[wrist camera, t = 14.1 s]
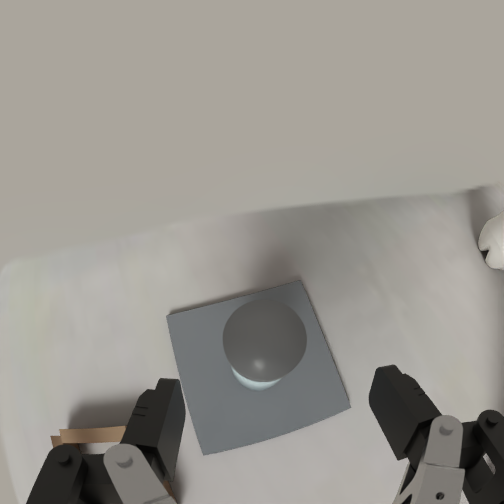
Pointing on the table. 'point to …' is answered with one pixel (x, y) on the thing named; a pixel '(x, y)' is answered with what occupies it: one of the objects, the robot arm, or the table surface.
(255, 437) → the slate pad
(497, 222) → the water bottle
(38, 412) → the table surface
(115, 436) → the walnut collar
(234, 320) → the grey-capped cylinder canister
